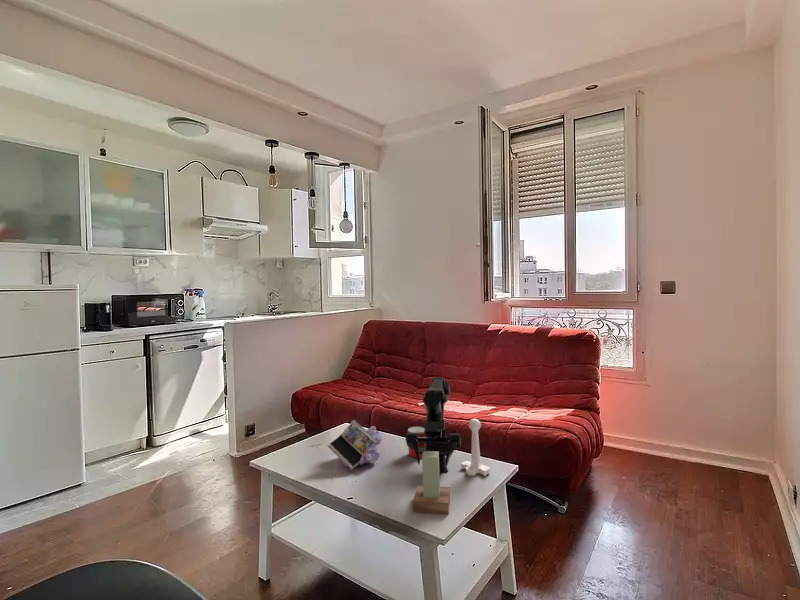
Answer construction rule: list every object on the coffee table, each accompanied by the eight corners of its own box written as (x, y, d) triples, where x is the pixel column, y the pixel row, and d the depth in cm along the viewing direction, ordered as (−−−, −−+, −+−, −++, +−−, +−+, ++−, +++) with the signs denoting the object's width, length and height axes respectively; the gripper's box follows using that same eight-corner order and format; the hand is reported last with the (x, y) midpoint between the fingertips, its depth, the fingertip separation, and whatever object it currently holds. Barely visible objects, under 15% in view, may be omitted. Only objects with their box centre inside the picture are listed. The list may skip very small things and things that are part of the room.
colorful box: (380, 437, 191) (358, 406, 188) (397, 451, 170) (373, 416, 167) (343, 468, 184) (320, 436, 181) (356, 487, 164) (330, 451, 161)
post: (425, 490, 141) (423, 451, 141) (440, 490, 140) (438, 451, 140) (423, 497, 136) (422, 457, 136) (439, 497, 136) (437, 457, 135)
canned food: (420, 460, 175) (419, 433, 175) (404, 456, 180) (403, 430, 180) (430, 453, 182) (429, 428, 181) (414, 450, 186) (414, 425, 186)
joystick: (492, 473, 161) (490, 420, 160) (481, 479, 155) (479, 425, 155) (467, 465, 168) (465, 415, 168) (456, 471, 163) (454, 419, 162)
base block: (417, 495, 145) (417, 485, 145) (450, 497, 143) (449, 486, 143) (413, 512, 134) (412, 501, 134) (448, 514, 132) (448, 503, 132)
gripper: (405, 410, 149) (401, 453, 138) (459, 410, 146) (459, 455, 135) (409, 425, 157) (406, 467, 146) (460, 426, 154) (460, 469, 143)
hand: (432, 464), depth 142 cm, fingers open, 9 cm apart
